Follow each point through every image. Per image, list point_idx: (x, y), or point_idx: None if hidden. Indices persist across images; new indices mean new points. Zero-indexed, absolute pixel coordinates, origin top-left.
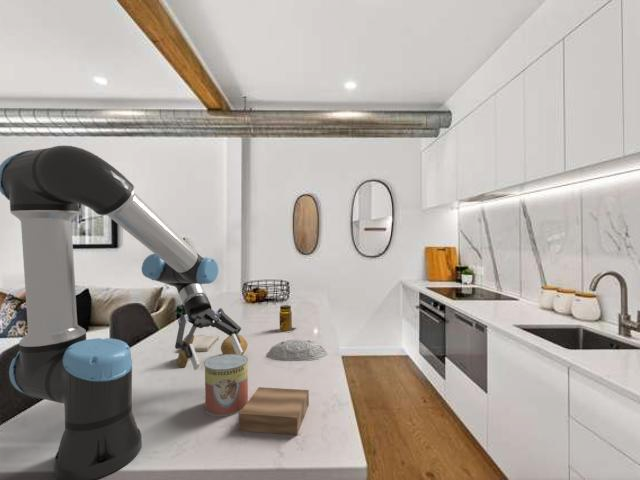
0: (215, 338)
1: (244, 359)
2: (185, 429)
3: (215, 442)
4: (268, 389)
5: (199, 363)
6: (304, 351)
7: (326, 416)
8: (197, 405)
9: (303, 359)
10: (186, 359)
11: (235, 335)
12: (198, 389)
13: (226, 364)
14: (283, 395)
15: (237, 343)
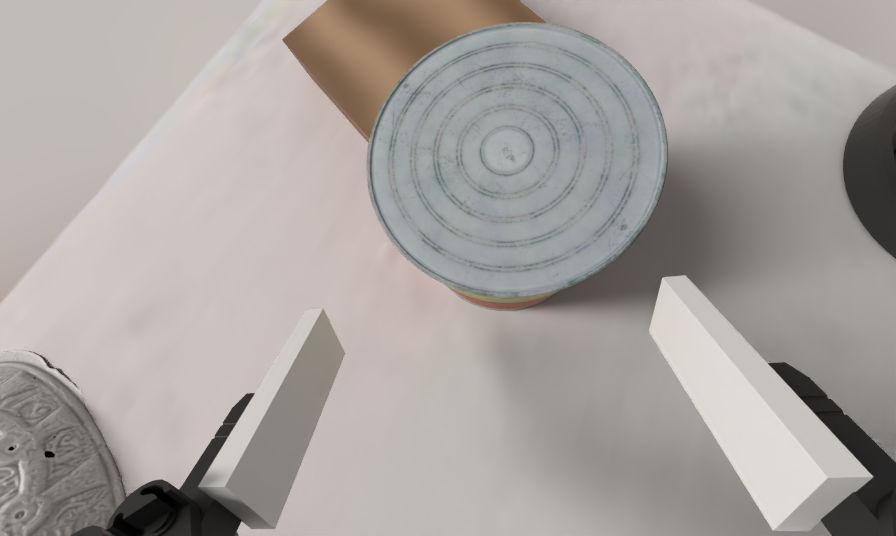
0: None
1: (399, 111)
2: (682, 170)
3: (622, 54)
4: (374, 121)
5: (667, 281)
6: (8, 411)
7: (321, 5)
8: (593, 307)
9: (66, 390)
10: None
11: (221, 454)
12: (540, 454)
13: (531, 98)
14: (364, 52)
15: (286, 368)
